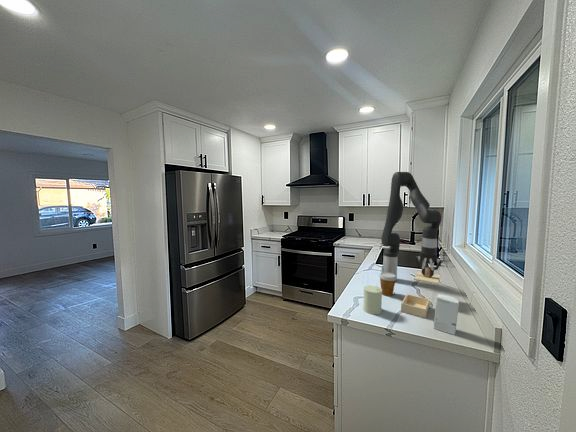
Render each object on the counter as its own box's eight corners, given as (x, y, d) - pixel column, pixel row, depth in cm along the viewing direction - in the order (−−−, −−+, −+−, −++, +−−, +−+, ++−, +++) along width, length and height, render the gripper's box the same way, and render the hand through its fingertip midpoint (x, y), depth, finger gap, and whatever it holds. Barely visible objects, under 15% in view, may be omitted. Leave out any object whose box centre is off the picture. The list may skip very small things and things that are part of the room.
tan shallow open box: (400, 311, 123) (401, 303, 122) (406, 301, 134) (406, 293, 133) (425, 318, 116) (425, 309, 116) (428, 307, 127) (429, 299, 127)
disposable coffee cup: (394, 291, 147) (395, 273, 146) (396, 298, 138) (397, 278, 137) (378, 289, 150) (379, 271, 149) (378, 296, 141) (379, 276, 140)
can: (379, 316, 118) (380, 293, 117) (360, 311, 123) (361, 289, 122) (383, 308, 126) (384, 286, 125) (365, 304, 131) (366, 283, 130)
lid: (413, 280, 133) (414, 268, 132) (418, 273, 145) (418, 262, 144) (437, 284, 126) (438, 272, 126) (440, 277, 138) (440, 266, 137)
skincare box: (433, 328, 107) (435, 297, 106) (435, 323, 112) (437, 292, 111) (455, 335, 102) (458, 302, 101) (457, 329, 107) (459, 297, 105)
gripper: (414, 245, 135) (412, 274, 136) (443, 248, 126) (441, 280, 128) (416, 243, 141) (414, 271, 142) (444, 246, 132) (442, 276, 134)
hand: (427, 275), depth 135 cm, fingers closed on lid, 3 cm apart
